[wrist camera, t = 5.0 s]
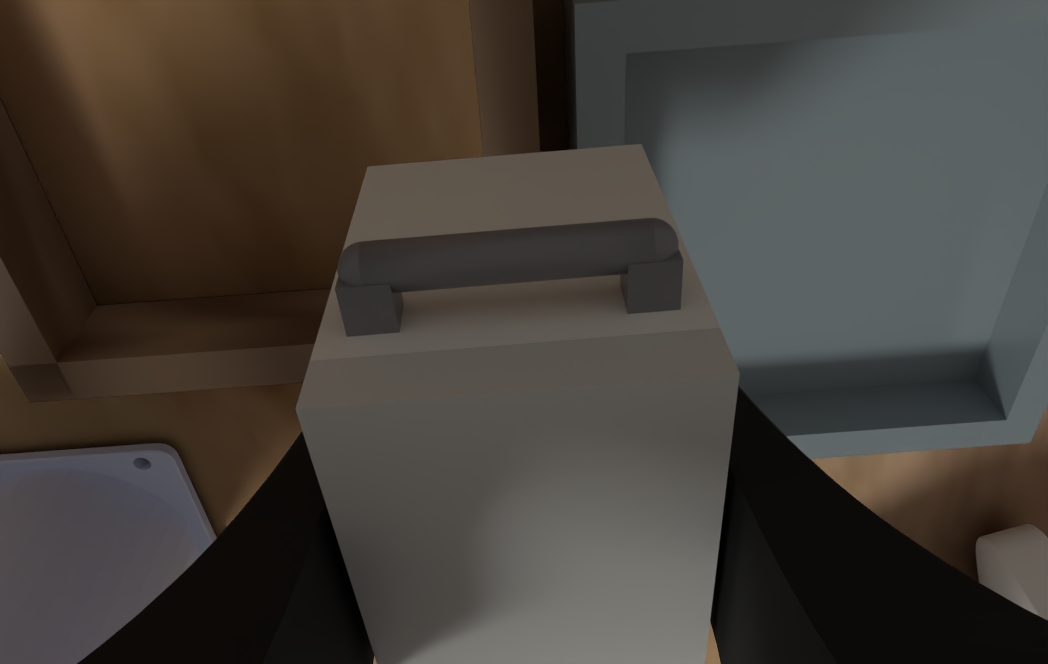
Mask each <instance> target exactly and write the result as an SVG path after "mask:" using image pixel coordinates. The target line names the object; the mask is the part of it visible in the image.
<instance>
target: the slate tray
mask: <svg viewBox="0 0 1048 664" xmlns="http://www.w3.org/2000/svg"><path fill="white" fill-rule="evenodd" d="M565 34H566V72H567V110H568V148H569V150H573V149H586V148H598V147H610V146H622V145H634V144H642V146H643V149H644V151H645V153H646V156H647V158H648V160H649V163H650V165H651V167H652V170H653V172H654V174H655V177H656V179H657V181H658V184H659V186H660V188H661V191H662V193H663V195H664V198H665V200H666V202H667V205H668V207H669V209H670V212H671V214H672V216H673V219H674V221H675V223H676V226H677V228H678V230H679V233H680V235H681V237H682V240H683V242H684V244H685V247H686V249H687V251H688V254H689V256H690V258H691V261H692V263H693V265H694V268H695V270H696V272H697V275H698V277H699V279H700V282H701V284H702V286H703V289H704V291H705V293H706V296H707V298H708V301H709V303H710V305H711V308H712V310H713V312H714V315H715V317H716V319H717V322H718V324H719V326H720V329H721V331H722V333H723V336H724V338H725V340H726V343H727V345H728V347H729V350H730V352H731V354H732V357H733V359H734V361H735V364H736V366H737V368H738V371H739V373H740V376H739V384H738V385H739V387H740V388H741V389H742V390H743V391H744V392H745V393H746V394H747V396H748V397H749V398H750V399H751V400H752V401H753V402H754V403H755V404H756V405H757V407H758V408H759V409H760V410H761V411H762V412H763V413H764V414H765V415H766V416H767V417H768V418H769V419H770V420H771V421H772V422H773V423H774V424H775V425H776V426H777V427H778V428H779V429H780V430H781V431H782V432H783V433H784V435H785V436H786V437H787V438H788V439H789V440H790V441H792V442H793V443H794V444H795V445H796V446H797V447H798V448H799V449H800V450H801V451H802V452H803V453H804V454H805V455H806V456H807V457H808V458H809V459H816V458H829V457H843V456H857V455H871V454H884V453H898V452H912V451H926V450H939V449H953V448H967V447H980V446H994V445H1008V444H1022V443H1030V442H1031V440H1032V438H1033V436H1034V434H1035V432H1036V429H1037V427H1038V425H1039V423H1040V421H1041V418H1042V416H1043V414H1044V412H1045V410H1046V408H1047V405H1048V0H565Z"/></svg>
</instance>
